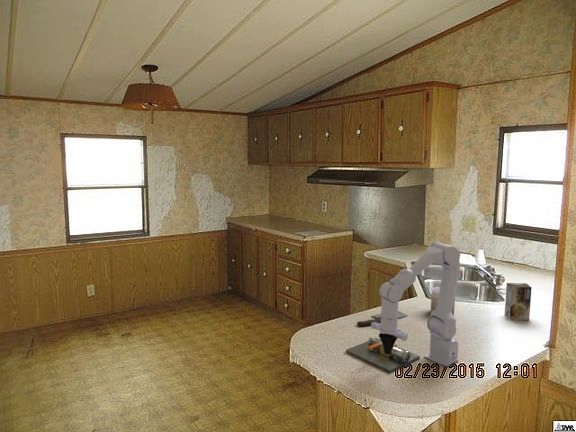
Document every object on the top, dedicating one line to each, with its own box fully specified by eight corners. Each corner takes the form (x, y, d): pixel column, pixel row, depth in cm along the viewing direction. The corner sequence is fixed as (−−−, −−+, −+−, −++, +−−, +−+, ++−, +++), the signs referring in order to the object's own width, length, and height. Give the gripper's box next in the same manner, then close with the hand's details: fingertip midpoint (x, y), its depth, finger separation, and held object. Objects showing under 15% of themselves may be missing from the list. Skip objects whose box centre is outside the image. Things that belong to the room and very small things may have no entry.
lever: (388, 340, 166) (388, 338, 166) (392, 342, 164) (392, 339, 164) (368, 349, 158) (368, 346, 158) (372, 350, 157) (372, 348, 157)
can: (458, 317, 206) (459, 293, 204) (434, 317, 206) (435, 293, 204) (449, 309, 217) (451, 286, 215) (426, 309, 217) (428, 285, 215)
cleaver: (364, 329, 191) (364, 325, 191) (349, 322, 199) (349, 318, 199) (409, 317, 208) (409, 313, 207) (394, 311, 216) (394, 307, 215)
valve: (419, 358, 164) (420, 344, 163) (389, 373, 152) (390, 358, 152) (376, 340, 180) (376, 327, 179) (345, 352, 168) (346, 338, 168)
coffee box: (523, 315, 209) (526, 283, 207) (529, 320, 203) (532, 287, 201) (503, 314, 210) (506, 282, 208) (509, 319, 204) (511, 286, 201)
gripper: (366, 313, 157) (364, 349, 158) (399, 325, 145) (397, 363, 147) (378, 309, 161) (377, 344, 163) (411, 320, 150) (410, 358, 152)
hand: (387, 353), depth 155 cm, fingers closed
